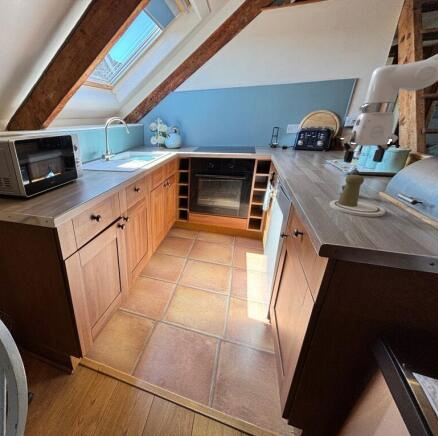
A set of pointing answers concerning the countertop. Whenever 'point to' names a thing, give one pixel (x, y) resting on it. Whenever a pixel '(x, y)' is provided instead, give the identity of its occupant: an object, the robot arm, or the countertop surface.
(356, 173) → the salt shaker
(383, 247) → the countertop surface
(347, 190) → the cork
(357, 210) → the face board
